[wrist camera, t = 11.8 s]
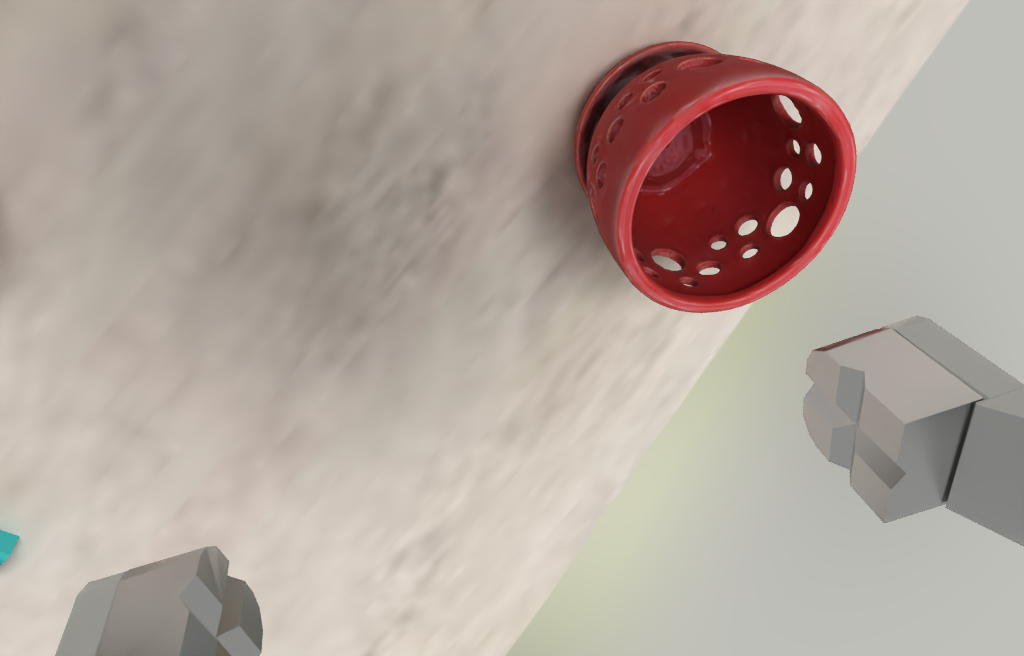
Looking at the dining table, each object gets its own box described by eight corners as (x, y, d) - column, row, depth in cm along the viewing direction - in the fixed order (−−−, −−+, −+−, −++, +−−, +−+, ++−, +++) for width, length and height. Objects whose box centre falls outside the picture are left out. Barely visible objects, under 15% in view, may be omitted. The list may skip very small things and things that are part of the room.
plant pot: (570, 18, 37) (655, 61, 28) (767, 40, 41) (905, 85, 31) (537, 228, 44) (596, 321, 35) (709, 231, 48) (806, 318, 38)
